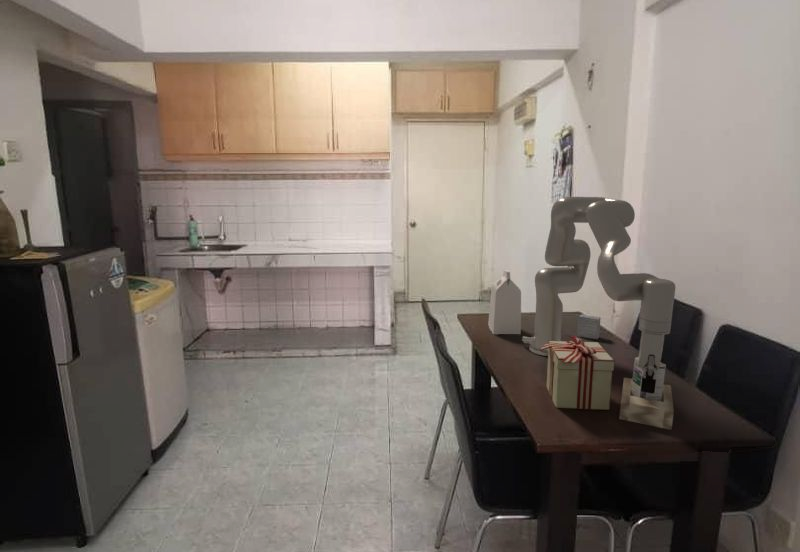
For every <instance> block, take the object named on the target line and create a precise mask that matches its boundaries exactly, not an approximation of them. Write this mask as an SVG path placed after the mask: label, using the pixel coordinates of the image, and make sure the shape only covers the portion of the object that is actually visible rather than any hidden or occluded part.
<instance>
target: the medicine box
mask: <svg viewBox="0 0 800 552" xmlns="http://www.w3.org/2000/svg"><path fill="white" fill-rule="evenodd" d="M600 328H601V316H595V315H589V314H580V315H579V316H578V321H577V333H576V335H577V336H576V337H577V338H585V339H590V340H591V339H593V340H598V339H599V337H600V331H601V330H600Z"/></svg>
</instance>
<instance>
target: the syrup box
mask: <svg viewBox="0 0 800 552" xmlns="http://www.w3.org/2000/svg"><path fill="white" fill-rule="evenodd" d="M648 360H649V357H648ZM638 361H639V356H636V357H634V363H633V372H632V378H631V379H632V387H631V395H630V396H635V397H640V398H645V399H651V400H656V401H661V399H662V391H663V384H665V375H666V369H667V368H666V367H667V364H665V363H663V362H661V361H660V366H659V369H658V370H656V376H655V379H656V384H655V392H654V393H653V394H652V393H647V392H642V391H641V383H642V377H643V375H644V367H641V368H640V367H639V366H638ZM646 366H648V364H646ZM654 366H655V365H654ZM656 367H657V366H656ZM646 371H648V370H646Z"/></svg>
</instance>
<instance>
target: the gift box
mask: <svg viewBox="0 0 800 552" xmlns="http://www.w3.org/2000/svg"><path fill="white" fill-rule="evenodd" d="M569 338H570V339H573V340H569V341H568V340H567V341H566V340H565V341H563V340H560V341H548V343H546V344H545V345H544V346H543V347H542V348H541V349H539V350H544V349H547V351H548V356H547V370H546V372H547V373H546V385H545V386H546V388H547V392H548V395H549V396H550V398H551V401H552V402H553V405H554V406H555V408H556V409H572V410H573V409H575V410H576V409H577V410H593V411H594V410H596V411H597V410H598V411H599V410H600V411H610V402H611V390H612V389H611V388H612V379H613V378H612V377H613V372H614V369H615V360H614V359H613V357H611V355H610V354H609V353H608V352H607V351H606V349H604V347H602V345H600V343H599V342H597V341H596V342H595V341H584V340H583V339H581V338H580V337H577V336H574V335H570V336H569Z"/></svg>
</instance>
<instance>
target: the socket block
mask: <svg viewBox="0 0 800 552" xmlns="http://www.w3.org/2000/svg"><path fill="white" fill-rule="evenodd" d="M632 379H633V378H630V377H623V384H622V391H621V392H622V393H621V399H620V400H621V401H620V409H619V420H623V421H626V422H633V423H638V424H642V425H645V426H646V425H647V426H651V427H656V428H660V429H664V430H670V431H672V428H673V421H674V412H675V411H674V402H673V395H672V394H673V393H672V385H670V384H665V383H664V384H663V391H662V399H661V401H656V400H651V399H645V398H640V397H635V396H630V395H631V387H632Z"/></svg>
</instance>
